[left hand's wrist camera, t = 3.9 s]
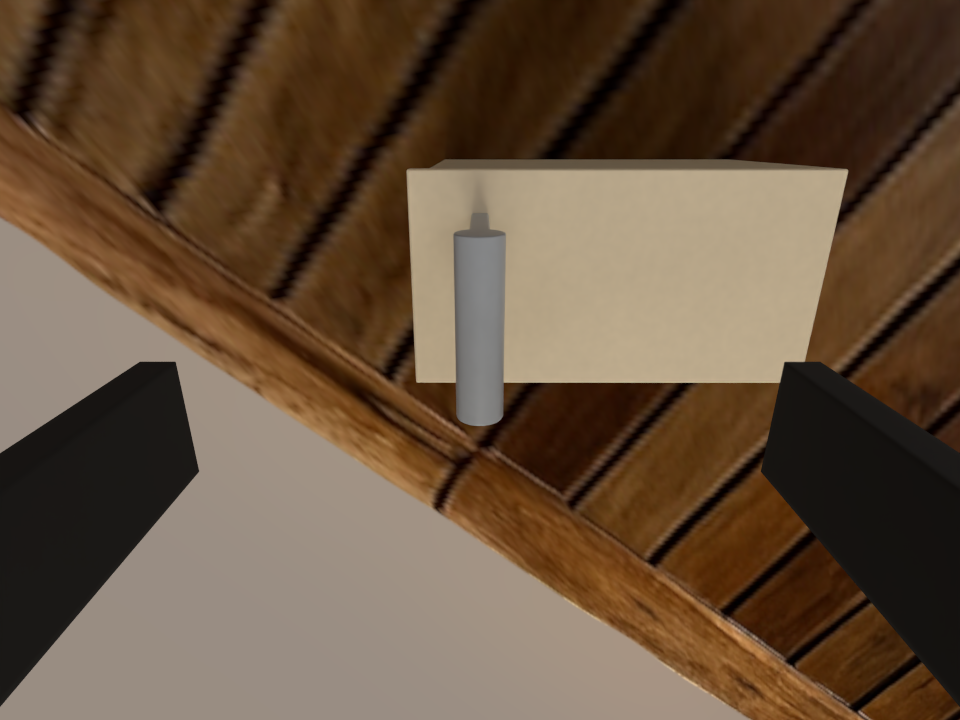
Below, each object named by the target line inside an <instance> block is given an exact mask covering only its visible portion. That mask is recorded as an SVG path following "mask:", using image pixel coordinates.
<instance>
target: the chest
mask: <svg viewBox="0 0 960 720" xmlns="http://www.w3.org/2000/svg"><path fill="white" fill-rule="evenodd" d="M431 168H826V167H814V166H801V165H789V164H777V163H765V162H752V161H740V160H728V159H445V160H443V161H442V162H440V163H438V164H436V165H435V166H433V167H431Z"/></svg>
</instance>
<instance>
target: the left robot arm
mask: <svg viewBox="0 0 960 720" xmlns="http://www.w3.org/2000/svg"><path fill="white" fill-rule="evenodd" d="M198 472H199V469H198V464H197V460H196V455H195V450H194V446H193V441H192V436H191V432H190V427H189V422H188V418H187V413H186V409H185V404H184V399H183V394H182V390H181V385H180V381H179V376H178V371H177V366H176V362H139V363H138V364H136V365H134V366H133V367H131V368H130V369H128V370H127V371H125V372H124V373H122V374H121V375H119V376H118V377H116V378H115V379H113V380H112V381H110V382H108V383H107V384H105V385H104V386H102V387H101V388H99V389H98V390H96V391H95V392H93V393H92V394H90V395H89V396H87V397H86V398H84V399H82V400H81V401H79V402H78V403H76V404H75V405H73V406H72V407H70V408H69V409H67V410H66V411H64V412H63V413H61V414H60V415H58V416H57V417H55V418H54V419H52V420H50V421H49V422H47V423H46V424H44V425H43V426H41V427H40V428H38V429H37V430H35V431H34V432H32V433H31V434H29V435H27V436H26V437H24V438H23V439H21V440H20V441H18V442H17V443H15V444H14V445H12V446H11V447H9V448H8V449H6V450H5V451H3V452H2V453H0V706H1V705H2V704H3V703H4V702H5V700H6V699H7V698H8V697H9V696H10V694H11V693H12V692H13V691H14V690H15V689H16V687H17V686H18V685H19V684H20V683H21V681H22V680H23V679H24V678H25V677H26V676H27V674H28V673H29V672H30V671H31V670H32V668H33V667H34V666H35V665H36V664H37V663H38V661H39V660H40V659H41V658H42V657H43V655H44V654H45V653H46V652H47V651H48V650H49V648H50V647H51V646H52V645H53V644H54V642H55V641H56V640H57V639H58V638H59V637H60V635H61V634H62V633H63V632H64V631H65V629H66V628H67V627H68V626H69V625H70V623H71V622H72V621H73V620H74V619H75V618H76V616H77V615H78V614H79V613H80V612H81V611H82V609H83V608H84V607H85V606H86V605H87V603H88V602H89V601H90V600H91V599H92V597H93V596H94V595H95V594H96V593H97V592H98V590H99V589H100V588H101V587H102V586H103V585H104V583H105V582H106V581H107V580H108V579H109V577H110V576H111V575H112V574H113V573H114V572H115V570H116V569H117V568H118V567H119V566H120V564H121V563H122V562H123V561H124V560H125V558H126V557H127V556H128V555H129V554H130V553H131V551H132V550H133V549H134V548H135V547H136V545H137V544H138V543H139V542H140V541H141V540H142V538H143V537H144V536H145V535H146V534H147V532H148V531H149V530H150V529H151V528H152V527H153V525H154V524H155V523H156V522H157V521H158V519H159V518H160V517H161V516H162V515H163V514H164V512H165V511H166V510H167V509H168V508H169V506H170V505H171V504H172V503H173V502H174V501H175V499H176V498H177V497H178V496H179V495H180V493H181V492H182V491H183V490H184V489H185V488H186V486H187V485H188V484H189V483H190V482H191V480H192V479H193V478H194V477H195V476H196V475H197V473H198ZM761 472H762V473H763V475H764V476H765V477H766V478H767V479H768V480H769V482H770V483H771V484H772V485H773V486H774V488H775V489H776V490H777V491H778V492H779V493H780V495H781V496H782V497H783V498H784V499H785V501H786V502H787V503H788V504H789V505H790V506H791V508H792V509H793V510H794V511H795V512H796V514H797V515H798V516H799V517H800V518H801V519H802V521H803V522H804V523H805V524H806V525H807V527H808V528H809V529H810V530H811V531H812V532H813V534H814V535H815V536H816V537H817V538H818V540H819V541H820V542H821V543H822V544H823V545H824V547H825V548H826V549H827V550H828V551H829V553H830V554H831V555H832V556H833V557H834V558H835V560H836V561H837V562H838V563H839V564H840V566H841V567H842V568H843V569H844V570H845V572H846V573H847V574H848V575H849V576H850V577H851V579H852V580H853V581H854V582H855V583H856V585H857V586H858V587H859V588H860V589H861V590H862V592H863V593H864V594H865V595H866V596H867V598H868V599H869V600H870V601H871V602H872V603H873V605H874V606H875V607H876V608H877V609H878V611H879V612H880V613H881V614H882V615H883V616H884V618H885V619H886V620H887V621H888V622H889V624H890V625H891V626H892V627H893V628H894V629H895V631H896V632H897V633H898V634H899V635H900V637H901V638H902V639H903V640H904V641H905V642H906V644H907V645H908V646H909V647H910V648H911V650H912V651H913V652H914V653H915V654H916V655H917V657H918V658H919V659H920V660H921V661H922V663H923V664H924V665H925V666H926V667H927V668H928V670H929V671H930V672H931V673H932V674H933V676H934V677H935V678H936V679H937V680H938V681H939V683H940V684H941V685H942V686H943V687H944V689H945V690H946V691H947V692H948V693H949V694H950V696H951V697H952V698H953V699H954V700H955V702H956V703H957V704H958V705H959V706H960V453H958V452H957V451H955V450H954V449H952V448H951V447H949V446H948V445H946V444H945V443H943V442H942V441H940V440H939V439H937V438H936V437H934V436H933V435H931V434H929V433H928V432H926V431H925V430H923V429H922V428H920V427H919V426H917V425H916V424H914V423H913V422H911V421H910V420H908V419H907V418H905V417H903V416H902V415H900V414H899V413H897V412H896V411H894V410H893V409H891V408H890V407H888V406H887V405H885V404H884V403H882V402H881V401H879V400H878V399H876V398H874V397H873V396H871V395H870V394H868V393H867V392H865V391H864V390H862V389H861V388H859V387H858V386H856V385H855V384H853V383H852V382H850V381H848V380H847V379H845V378H844V377H842V376H841V375H839V374H838V373H836V372H835V371H833V370H832V369H830V368H829V367H827V366H826V365H824V364H823V363H821V362H784V366H783V371H782V376H781V380H780V385H779V390H778V394H777V399H776V404H775V408H774V413H773V418H772V422H771V427H770V432H769V436H768V441H767V446H766V450H765V455H764V460H763V464H762V469H761Z"/></svg>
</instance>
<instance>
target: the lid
mask: <svg viewBox="0 0 960 720" xmlns="http://www.w3.org/2000/svg"><path fill="white" fill-rule="evenodd" d="M847 174H848V170H847V169H838V168H410V169H408V170H407V193H408V215H409V236H410V258H411V280H412V302H413V324H414V346H415V368H416V382H456V413H457V418H458V419H459V420H460V421H461V422H463V423H466V424H469V425H475V426H485V425H491V424H494V423H496V422H498V421H500V420H501V418H502V417H503V388H504V382H598V383H780V380H781V376H782V371H783V366H784V362H805V358H806V353H807V349H808V345H809V340H810V336H811V332H812V327H813V323H814V318H815V314H816V310H817V305H818V301H819V297H820V292H821V288H822V283H823V279H824V275H825V270H826V266H827V262H828V257H829V253H830V248H831V244H832V240H833V235H834V231H835V227H836V222H837V218H838V213H839V209H840V205H841V200H842V196H843V192H844V187H845V183H846V178H847Z"/></svg>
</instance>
